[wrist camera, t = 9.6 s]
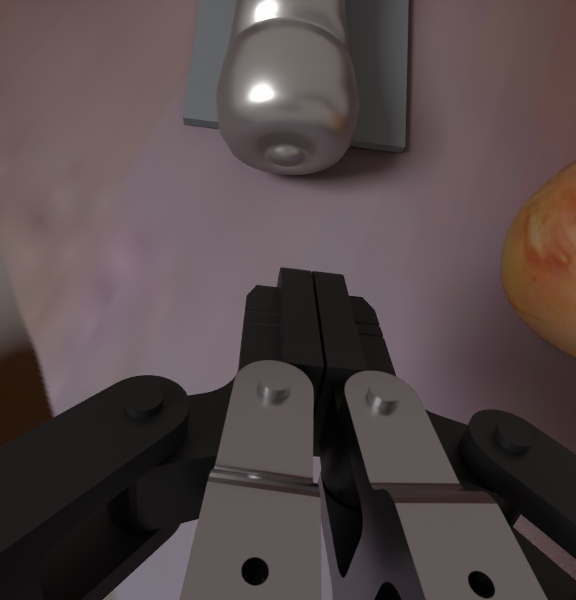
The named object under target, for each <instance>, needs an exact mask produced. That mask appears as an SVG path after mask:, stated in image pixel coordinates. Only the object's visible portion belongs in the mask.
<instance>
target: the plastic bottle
mask: <svg viewBox="0 0 576 600" xmlns="http://www.w3.org/2000/svg"><path fill="white" fill-rule="evenodd" d="M216 108H217V117H218V125H219V130H220V133H221V136H222V137H223V139H224V140H225V142H226V144H227V145H228V147H229V148H230V150H231V152H232V153H233V154H234V155H235V156H236V157H237V158H238V159H239V160H240V161H242V162H243V163H245V164H247V165H249V166H251V167H253V168H255V169H258V170H261V171H265V172H269V173H274V174H282V175H303V174H309V173H314V172H318V171H322V170H324V169H326V168H329V167H331V166H332V165H334V164H335V163H337V162H338V161H339V160H340V159H341V158H342V156H343V155H344V154H345V152H346V151H347V149H348V148H349V147H350V145H351V143H352V142H353V140H354V135H355V130H356V125H357V119H358V113H359V108H360V105H359V96H358V90H357V83H356V77H355V71H354V67H353V63H352V60H351V57H350V53H349V42H348V32H347V22H346V12H345V0H236V4H235V10H234V17H233V23H232V29H231V35H230V42H229V47H228V50H227V53H226V55H225V58H224V61H223V64H222V67H221V72H220V76H219V81H218V85H217V90H216Z"/></svg>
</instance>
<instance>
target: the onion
mask: <svg viewBox="0 0 576 600" xmlns="http://www.w3.org/2000/svg"><path fill="white" fill-rule="evenodd" d="M501 275H502V283H503V288H504V291H505V294H506V296H507V298H508V300H509V302H510V304H511V306H512V308H513V310H514V311H515V312H516V314H517V315H518V316H519V318H520V319H521V320H522V321H523V322H524V323H525V324H526V325H527V326H528V327H529V328H530V329H531V330H533V331H534V332H535V333H536V334H537V335H538V336H540V337H541V338H542V339H544V340H545V341H547V342H549V343H550V344H552V345H554V346H555V347H557V348H558V349H560V350H562V351H564V352H565V353H567V354H569V355H571V356H573V357H575V358H576V161H574V162H572V163H571V164H569V165H568V166H566V167H565V168H563V169H562V170H561V171H560V172H559V173H558V174H557V175H556V176H554V177H553V178H551V179H550V180H548V181H547V182H546V183H545V184H544V185H543V186H542V187H541V188H540V189H539V190H538V191H536V193H535V194H534V195H533V196H532V197H531V198H530V199H529V200H528V201H527V202H526V203H525V204H524V205H523V206H522V208H521V209H520V211H519V213H518V214H517V215H516V217H515V218H514V220H513V222H512V224H511V225H510V228H509V230H508V232H507V235H506V238H505V242H504V247H503V252H502V261H501Z"/></svg>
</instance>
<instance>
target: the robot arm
mask: <svg viewBox="0 0 576 600" xmlns="http://www.w3.org/2000/svg"><path fill="white" fill-rule="evenodd" d="M313 456H317V457H320V461H321V472H320V476H319V479H318V483H317V484H316V483H313ZM521 514H522V515H523V516H524V517H525V518H527V519H528V520H529V521H530V522H531V523H533V524H534V525H535V526H536V527H537V528H539V529H540V530H541V531H542V532H544V533H545V534H546V535H547V536H548V537H550V538H551V539H552V540H553V541H554V542H556V543H557V544H558V545H559V546H561V547H562V548H563V549H564V550H565V551H567V552H568V553H569V554H570V555H571V556H573V557H574V558H575V559H576V455H575V454H574V453H572V452H571V451H569V450H568V449H566V448H565V447H564V446H562V445H561V444H559V443H558V442H556V441H555V440H553V439H552V438H550V437H549V436H548V435H546V434H545V433H543V432H542V431H540V430H539V429H537V428H536V427H534V426H533V425H532V424H530V423H528V422H527V421H525V420H524V419H522V418H520V417H518V416H516V415H513V414H511V413H508V412H504V411H500V410H483V411H479V412H477V413H475V414H474V415H473V416H472V418H471V420H470V422H469V424H468V425H466V424H463V423H460V422H457V421H454V420H451V419H448V418H445V417H442V416H439V415H436V414H434V413H431V412H429V411H427V410H425V408H424V406H423V404H422V402H421V400H420V398H419V396H418V394H417V393H416V392H415V390H414V389H413V388H412V387H411V386H410V385H409V384H407V383H406V382H405V381H403V380H401V379H400V378H398V377H396V374H395V371H394V368H393V365H392V362H391V359H390V356H389V353H388V350H387V346H386V343H385V340H384V338H383V334H382V331H381V328H380V327H379V322H378V319H377V316H376V313H375V310H374V309H373V308H372V307H371V306H370V305H369V304H368V303H367V302H366V301H365V300H364V299H363V297H356V296H349V295H348V291H347V287H346V283H345V279H344V276H343V275H341V274H333V273H325V272H316V271H313V272H312V273H311V271H307V270H299V269H291V268H283V267H281V268H280V272H279V277H278V284H277V287H270V286H261V285H256V286H255V288H254V289H253V290H252V291H251V292H250V293H249V294H248V295H247V298H246V306H245V315H244V323H243V331H242V340H241V348H240V358H239V367H238V372H237V374H236V376H235V377H234V379H233V380H232V381H231V382H229V383H228V384H227V385H225V386H224V387H222V388H220V389H217V390H215V391H212V392H207V393H203V394H196V395H189V396H187V394H186V392H185V391H184V389H183V388H182V387H181V386H180V385H179V384H177V383H175V382H174V381H172V380H170V379H167V378H164V377H160V376H153V375H143V376H135V377H130V378H127V379H124V380H122V381H120V382H117V383H115V384H114V385H112V386H110V387H108V388H106V389H105V390H103V391H101V392H99V393H97V394H96V395H94V396H92V397H90V398H88V399H87V400H85V401H83V402H81V403H79V404H77V405H76V406H74V407H72V408H70V409H68V410H67V411H65V412H63V413H61V414H59V415H58V416H56V417H54V418H52V419H50V420H49V421H47V422H45V423H43V424H41V425H40V426H38V427H36V428H34V429H32V430H30V431H29V432H27V433H25V434H23V435H21V436H20V437H18V438H16V439H14V440H12V441H11V442H9V443H7V444H5V445H3V446H2V447H0V600H103V599H104V598H105V597H106V596H107V595H108V594H109V593H110V592H111V591H113V590H114V589H115V588H116V587H117V586H118V585H119V584H120V583H121V582H122V581H123V580H124V579H126V578H127V577H128V576H129V575H130V574H131V573H132V572H133V571H134V570H135V569H136V568H137V567H139V566H140V565H141V564H142V563H143V562H144V561H145V560H146V559H147V558H148V557H149V556H151V555H152V554H153V553H154V552H155V551H156V550H157V549H158V548H159V547H160V546H161V545H162V544H164V543H165V542H166V541H167V540H168V539H169V538H170V537H171V536H172V535H173V534H174V533H175V532H176V530H177V529H178V527H179V526H180V524H181V523H184V522H188V521H192V520H196V519H199V520H198V524H197V528H196V532H195V537H194V541H193V545H192V549H191V554H190V558H189V562H188V566H187V571H186V575H185V579H184V583H183V588H182V592H181V596H180V600H321V522H322V528H323V534H324V540H325V546H326V552H327V558H328V564H329V570H330V576H331V583H332V594H333V600H576V580H574V579H573V578H572V577H571V576H570V575H569V574H567V573H566V572H565V571H564V570H563V569H562V568H560V567H559V566H558V565H557V564H556V563H555V562H553V561H552V560H551V559H550V558H549V557H547V556H546V555H545V554H544V553H543V552H542V551H540V550H539V549H538V548H537V547H536V546H535V545H533V544H532V543H531V542H530V541H529V540H527V539H526V538H525V537H524V536H523V535H522V534H520V533H519V532H518V531H517V530H516V529H515V528H513V525H514V524H515V522H516V521H517V519H518V518H519V516H520V515H521Z"/></svg>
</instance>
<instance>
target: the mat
mask: <svg viewBox="0 0 576 600" xmlns="http://www.w3.org/2000/svg"><path fill="white" fill-rule="evenodd" d="M235 4H236V0H200V4H199V11H198V18H197V25H196V32H195V39H194V45H193V52H192V59H191V66H190V73H189V80H188V87H187V94H186V101H185V108H184V114H183V120H184V124H186V125H194V126H201V127H209V128H216V129H219V125H218V117H217V108H216V90H217V85H218V81H219V76H220V72H221V67H222V64H223V61H224V58H225V55H226V53H227V50H228V47H229V42H230V35H231V29H232V23H233V17H234V10H235ZM408 9H409V0H345V12H346V22H347V32H348V42H349V53H350V57H351V60H352V63H353V67H354V71H355V77H356V83H357V90H358V96H359V105H360V108H359V113H358V119H357V125H356V130H355V135H354V140H353V142H352V143H351V145H350V146H352V147H359V148H367V149H374V150H382V151H389V152H397V153H402V152H403V150H404V149H405V140H406V96H407V52H408Z"/></svg>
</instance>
